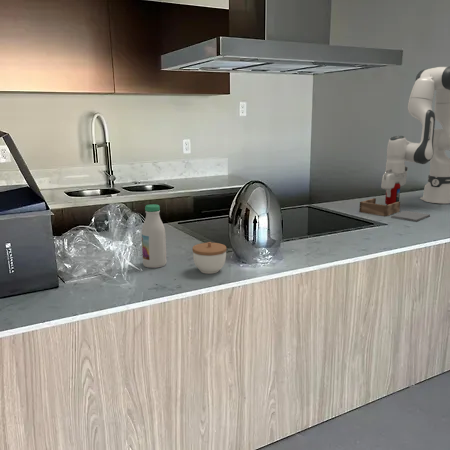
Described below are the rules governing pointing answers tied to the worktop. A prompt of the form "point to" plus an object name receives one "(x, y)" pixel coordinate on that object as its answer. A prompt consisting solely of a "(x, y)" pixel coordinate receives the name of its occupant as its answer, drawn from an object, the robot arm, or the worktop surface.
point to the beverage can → (393, 195)
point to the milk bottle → (153, 238)
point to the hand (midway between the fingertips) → (392, 195)
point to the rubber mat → (410, 216)
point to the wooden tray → (378, 208)
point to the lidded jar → (209, 257)
